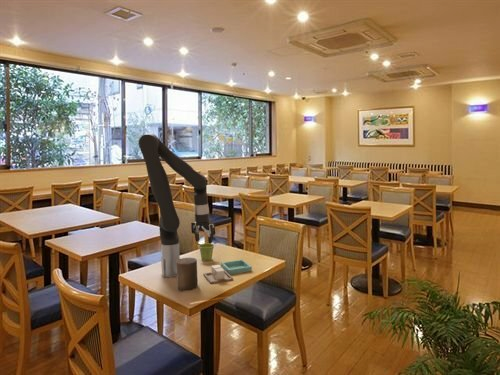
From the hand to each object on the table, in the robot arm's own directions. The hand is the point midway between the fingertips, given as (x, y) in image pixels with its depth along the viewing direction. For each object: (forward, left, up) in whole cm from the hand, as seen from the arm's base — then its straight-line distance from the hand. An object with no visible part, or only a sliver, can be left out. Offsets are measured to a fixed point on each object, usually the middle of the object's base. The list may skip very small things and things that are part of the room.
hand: (204, 242), depth 187 cm
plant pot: (+7, +22, -18) cm, 29 cm away
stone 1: (+4, -7, -17) cm, 19 cm away
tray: (+4, -10, -17) cm, 20 cm away
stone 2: (+4, -13, -17) cm, 21 cm away
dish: (+17, -2, -17) cm, 24 cm away
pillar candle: (-13, -15, -18) cm, 26 cm away
